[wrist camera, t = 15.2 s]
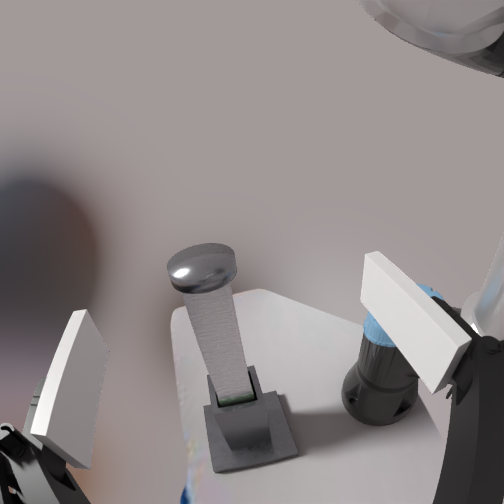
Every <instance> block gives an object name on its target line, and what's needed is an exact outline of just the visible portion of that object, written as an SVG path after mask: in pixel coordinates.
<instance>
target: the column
mask: <svg viewBox="0 0 504 504" xmlns="http://www.w3.org/2000/svg"><path fill="white" fill-rule="evenodd" d="M167 270H168V273H169V277H170V280H171V283H172V285H173V287H174V288H175V289H176V290H178V291H180V292H182V296H183V298H184V302H185V305H186V308H187V312H188V315H189V318H190V321H191V324H192V327H193V330H194V333H195V336H196V339H197V342H198V345H199V347H200V350H201V353H202V356H203V359H204V361H205V364H206V367H207V370H208V372H209V375H210V378H211V380H212V383H213V386H214V388H215V391H216V393H217V396H218V400H219V403H220V406H222V408H223V407H228V406H233V405H238V404H243V403H247V402H252V401H254V394H253V390H252V387H251V383H250V379H249V375H248V370H247V365H246V361H245V356H244V351H243V346H242V342H241V337H240V332H239V327H238V322H237V317H236V312H235V307H234V302H233V296H232V291H231V286H230V281H232V279H233V278H234V277H235V275H236V273H237V266H236V260H235V254H234V251H233V250H232V249H231V248H230V247H228V246H226V245H223V244H217V243H208V244H200V245H196V246H192V247H189V248H186V249H184V250H182V251H180V252H178V253H177V254H175V255H174V256H173V257H172V258H171V259H170V260H169V261H168V264H167Z"/></svg>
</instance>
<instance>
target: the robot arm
mask: <svg viewBox="0 0 504 504" xmlns="http://www.w3.org/2000/svg"><path fill="white" fill-rule="evenodd" d="M357 1H358V2H359V3H360V5H361V6H362V7H363V8H364V9H365V11H366V12H367V13H369V15H371V16H372V17H373V18H374V19H375V20H376V21H377V22H378V23H379V24H381V25H382V26H383V27H384V28H386V29H387V30H388V31H389V32H391V33H392V34H394V35H396V36H397V37H399V38H400V39H402V40H404V41H406V42H408V43H410V44H412V45H414V46H416V47H418V48H421V49H423V50H425V51H428V52H430V53H432V54H434V55H437V56H439V57H442V58H444V59H447V60H449V61H452V62H454V63H457V64H460V65H463V66H466V67H469V68H472V69H475V70H477V71H481V72H484V73H488V74H492V75H495V76H498V77H502V78H504V0H357ZM360 301H361V302H362V303H363V304H364V306H365V307H366V308H367V309H368V314H367V317H366V319H365V322H364V326H363V328H364V333H363V339H362V344H361V349H360V353H359V358H358V361H357V362H356V363H355V364H354V366H353V367H352V368H351V369H350V371H349V372H348V373H347V375H346V377H345V379H344V382H343V387H342V401H343V404H344V406H345V408H346V410H347V411H348V412H349V413H350V415H352V416H353V417H354V418H355V419H357V420H359V421H360V422H363V423H365V424H369V425H376V426H381V425H388V424H391V423H394V422H396V421H398V420H400V419H401V418H403V417H404V416H405V415H406V414H407V413H408V412H409V411H410V409H411V408H412V406H413V404H414V402H415V400H416V397H417V393H418V378H421V379H422V381H423V382H424V384H425V385H426V386H427V388H428V389H429V391H430V392H431V393H432V394H434V393H436V392H438V391H439V390H441V389H443V388H444V387H446V385H447V384H451V385H453V386H452V387H451V389H450V391H449V392H448V394H447V396H446V399H448V398H449V396H450V395H451V394H452V398H451V399H452V403H451V414H450V424H449V431H448V438H447V444H446V450H445V455H444V460H443V465H442V470H441V474H440V479H439V483H438V487H437V490H436V494H435V498H434V501H433V504H502V503H503V498H504V231H503V234H502V237H501V240H500V243H499V246H498V249H497V252H496V255H495V257H494V260H493V262H492V265H491V267H490V270H489V272H488V275H487V277H486V279H485V282H484V284H483V286H482V288H481V290H480V291H477V292H475V293H473V294H471V295H470V296H469V297H468V298H467V299H466V301H465V303H464V304H463V306H462V308H461V309H460V308H455V307H450V306H449V305H448V304H447V303H446V302H445V301H444V299H443V297H442V296H441V295H440V294H439V293H438V292H437V291H433V290H432V288H430V287H428V286H425V285H422V284H415V283H414V282H413V281H412V280H411V279H410V278H409V277H408V276H406V275H405V274H404V273H403V272H402V271H401V270H400V269H399V268H397V267H396V266H395V265H394V264H393V263H392V262H391V261H389V260H388V259H387V258H386V257H385V256H384V255H382V254H381V253H380V252H379V251H376V252H372V253H368V254H365V262H364V272H363V282H362V290H361V298H360ZM109 352H110V351H109V350H108V348H107V346H106V344H105V343H104V341H103V339H102V337H101V336H100V334H99V332H98V330H97V329H96V327H95V325H94V323H93V321H92V319H91V317H90V315H89V313H88V311H87V310H79V311H74V312H73V314H72V316H71V318H70V320H69V323H68V325H67V327H66V329H65V332H64V334H63V337H62V339H61V341H60V344H59V346H58V349H57V351H56V354H55V356H54V359H53V361H52V364H51V367H50V370H49V372H48V375H47V377H43V378H42V379H41V381H40V382H39V383H38V385H37V386H36V389H35V392H34V395H33V397H34V398H32V401H31V406H30V407H29V411H28V414H27V418H26V421H25V425H24V428H23V432H22V434H21V433H20V432H19V431H17V429H15V428H14V427H13V426H12V425H11V424H9V423H3V424H1V425H0V504H91V503H90V502H89V500H88V499H87V497H86V496H85V495H84V493H83V492H82V490H81V489H80V487H79V486H78V484H77V483H76V481H75V479H74V478H73V476H72V474H71V473H70V472H69V471H68V469H67V468H66V462H67V463H69V464H70V465H72V466H73V467H74V468H80V469H88V470H90V469H91V458H92V448H93V440H94V433H95V425H96V419H97V412H98V406H99V400H100V395H101V390H102V384H103V379H104V375H105V370H106V365H107V361H108V356H109ZM8 486H10V487H11V488H13V494H12V493H10V492H9V488H8Z"/></svg>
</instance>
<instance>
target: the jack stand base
mask: <svg viewBox="0 0 504 504" xmlns="http://www.w3.org/2000/svg"><path fill="white" fill-rule="evenodd" d="M247 370H248V375H249V379H250V383H251V387H252V390H253V394H254V401H252V402H247V403H243V404H238V405H233V406H228V407H223V408H222V406H220V403H219V400H218V396H217V393H216V391H215V388H214V386H213V383H212V380H211V378H210V375H207V379H208V386H209V393H210V400H211V405H206V406H203V407H204V414H205V421H206V428H207V435H208V441H209V448H210V454H211V460H212V466H213V471H214V472H215V473H219V472H226V471H232V470H238V469H243V468H248V467H253V466H258V465H262V464H266V463H271V462H275V461H279V460H282V459H286V458H290V457H293V456H297V455H298V450H297V448H296V445H295V442H294V440H293V437H292V434H291V431H290V429H289V426H288V423H287V420H286V417H285V415H284V412H283V409H282V406H281V403H280V401H279V398H278V395H277V392H276V391H272V392H268V393H264V394H262V390H261V387H260V384H259V381H258V377H257V374H256V371H255V367H254V366H249V367H247Z"/></svg>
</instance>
